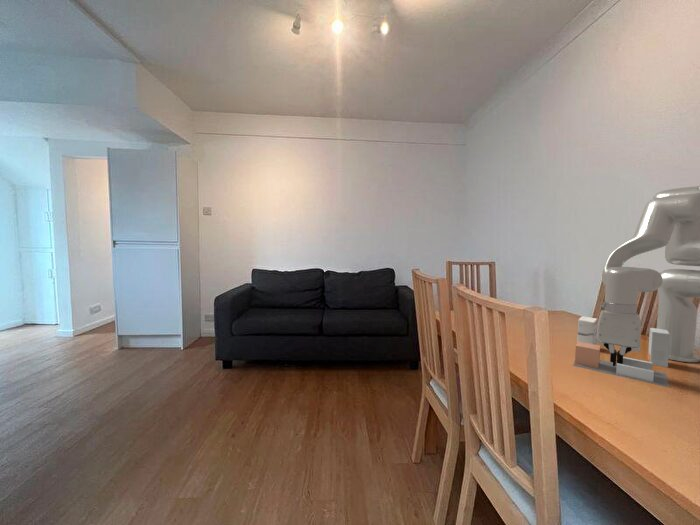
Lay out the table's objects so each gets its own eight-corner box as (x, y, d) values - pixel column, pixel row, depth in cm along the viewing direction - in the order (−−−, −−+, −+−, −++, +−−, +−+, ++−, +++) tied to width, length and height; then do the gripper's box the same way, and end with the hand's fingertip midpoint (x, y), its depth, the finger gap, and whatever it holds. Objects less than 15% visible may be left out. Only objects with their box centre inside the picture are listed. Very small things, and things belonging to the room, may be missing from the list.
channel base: (576, 357, 107) (577, 346, 107) (665, 376, 92) (666, 363, 92) (572, 368, 98) (573, 356, 98) (669, 390, 83) (670, 376, 83)
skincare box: (647, 361, 104) (649, 327, 103) (664, 364, 101) (667, 329, 100) (649, 366, 99) (652, 331, 99) (668, 370, 97) (670, 334, 96)
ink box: (592, 353, 111) (594, 322, 111) (576, 349, 115) (577, 319, 114) (596, 347, 117) (598, 318, 116) (580, 344, 121) (582, 315, 120)
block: (576, 358, 104) (577, 341, 103) (599, 363, 100) (600, 345, 99) (574, 363, 100) (575, 345, 99) (598, 368, 96) (599, 350, 95)
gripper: (588, 306, 96) (585, 362, 98) (654, 314, 86) (649, 376, 87) (590, 303, 102) (587, 355, 103) (653, 310, 92) (648, 368, 93)
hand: (616, 365), depth 95 cm, fingers closed
